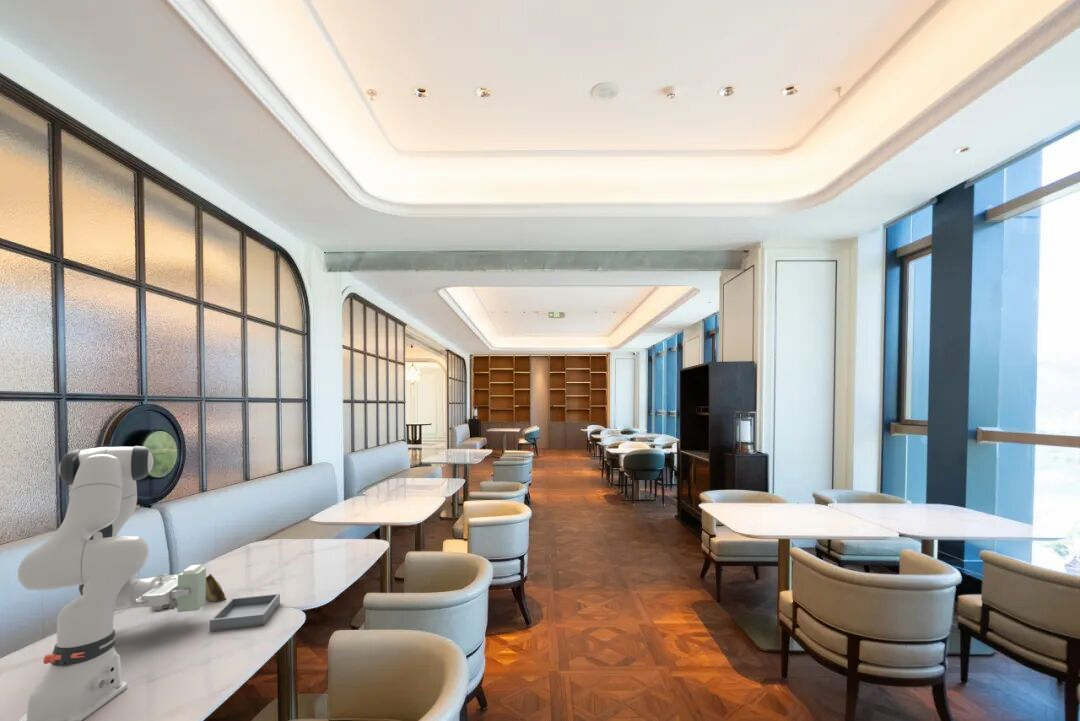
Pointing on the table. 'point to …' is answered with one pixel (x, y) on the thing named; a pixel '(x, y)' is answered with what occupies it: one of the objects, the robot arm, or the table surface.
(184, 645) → the table surface
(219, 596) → the rock
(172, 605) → the grey carved figurine
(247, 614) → the tray
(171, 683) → the table surface
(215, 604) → the table surface
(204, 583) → the juice carton
